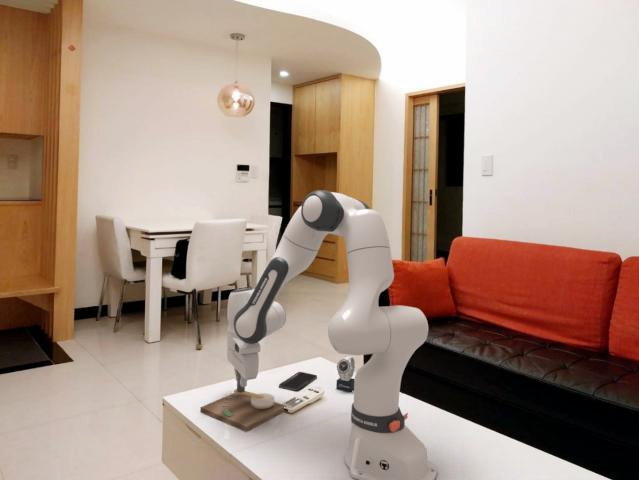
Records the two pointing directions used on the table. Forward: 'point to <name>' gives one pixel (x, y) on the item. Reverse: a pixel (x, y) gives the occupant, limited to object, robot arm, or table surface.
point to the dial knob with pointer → (255, 396)
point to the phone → (298, 381)
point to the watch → (346, 374)
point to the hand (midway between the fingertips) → (241, 383)
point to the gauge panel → (240, 411)
